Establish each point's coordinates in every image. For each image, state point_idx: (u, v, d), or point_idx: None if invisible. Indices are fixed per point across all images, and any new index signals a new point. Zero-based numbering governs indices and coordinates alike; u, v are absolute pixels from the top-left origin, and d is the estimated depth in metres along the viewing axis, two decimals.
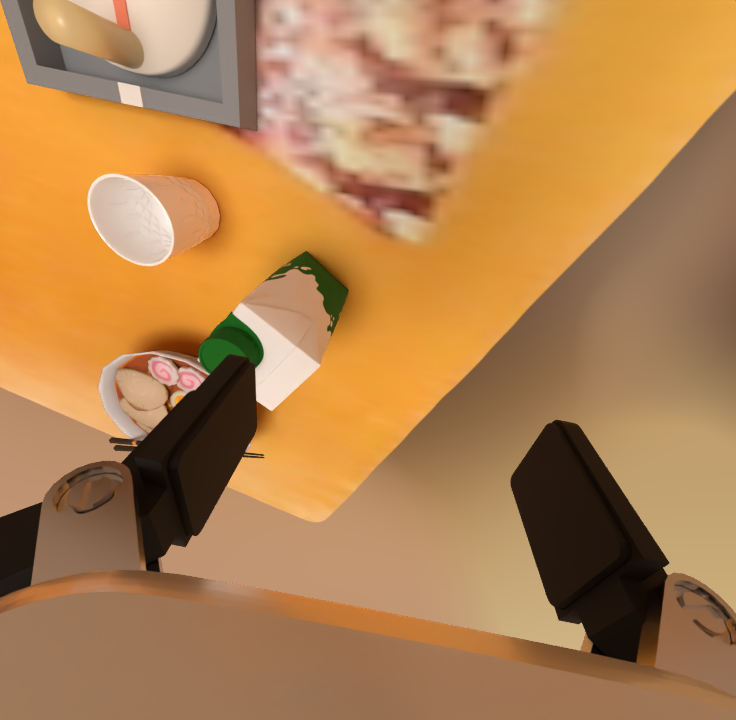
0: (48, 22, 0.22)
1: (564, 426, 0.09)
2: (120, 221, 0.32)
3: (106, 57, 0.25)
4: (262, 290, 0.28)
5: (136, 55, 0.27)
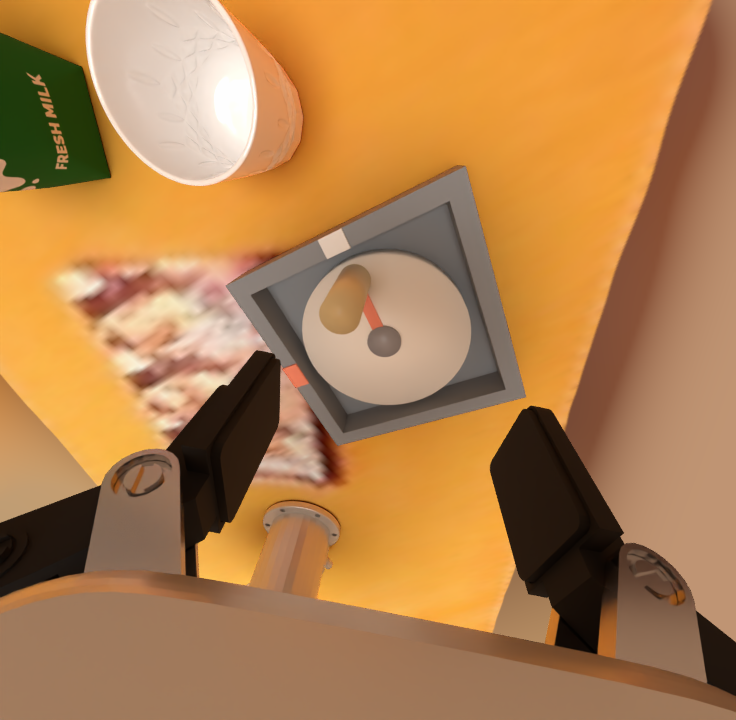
0: (343, 309, 0.19)
1: (537, 411, 0.09)
2: None
3: (334, 282, 0.22)
4: None
5: None
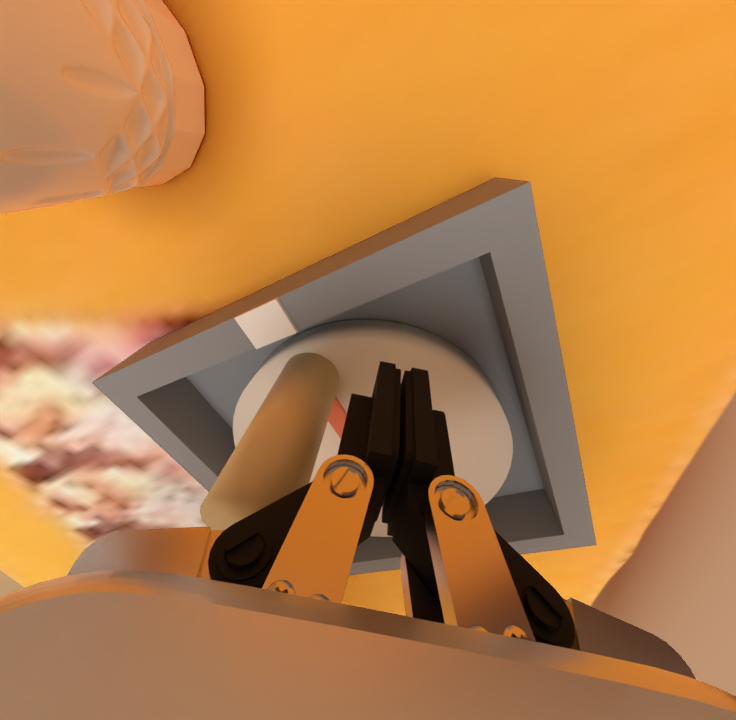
0: None
1: (413, 371, 0.10)
2: None
3: (258, 410, 0.11)
4: None
5: None
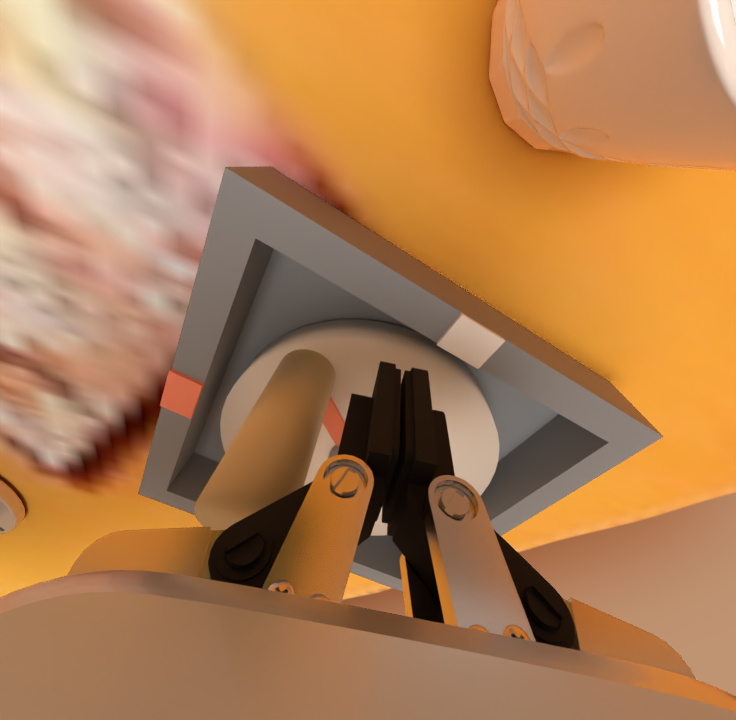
0: (250, 512, 0.08)
1: (413, 371, 0.10)
2: None
3: (255, 405, 0.11)
4: None
5: None
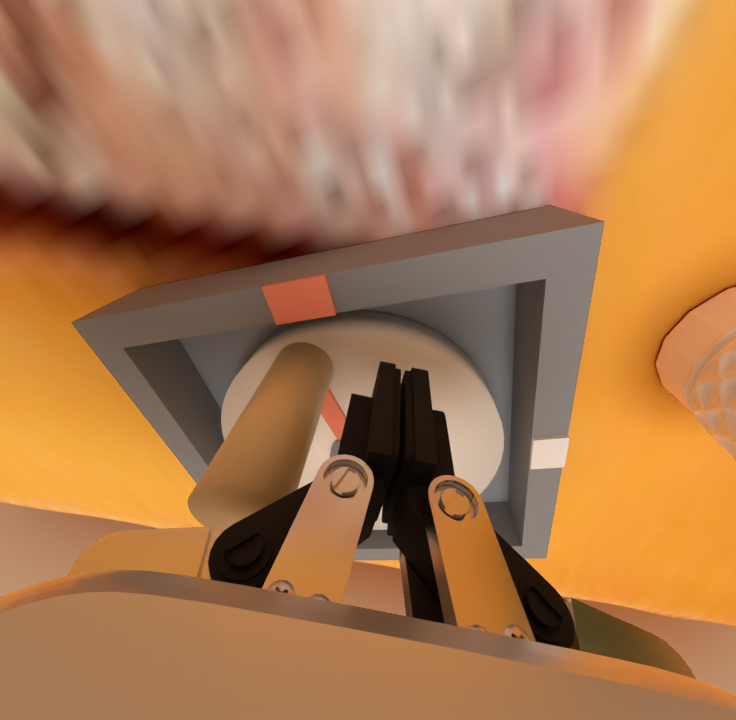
0: (244, 506, 0.08)
1: (413, 371, 0.10)
2: None
3: (251, 399, 0.11)
4: None
5: None
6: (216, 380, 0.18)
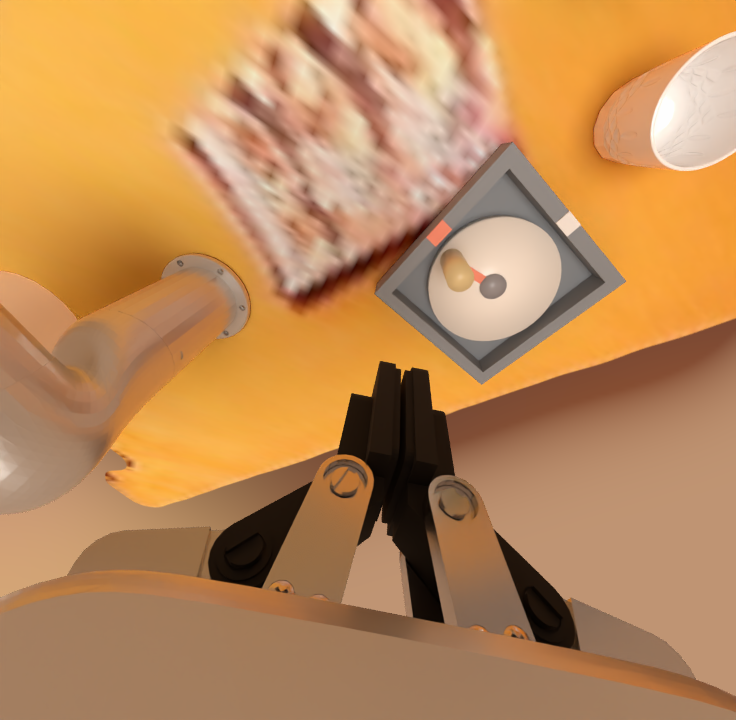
0: (460, 273, 0.30)
1: (413, 371, 0.10)
2: (719, 134, 0.25)
3: (443, 266, 0.33)
4: None
5: None
6: (419, 300, 0.42)
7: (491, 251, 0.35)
